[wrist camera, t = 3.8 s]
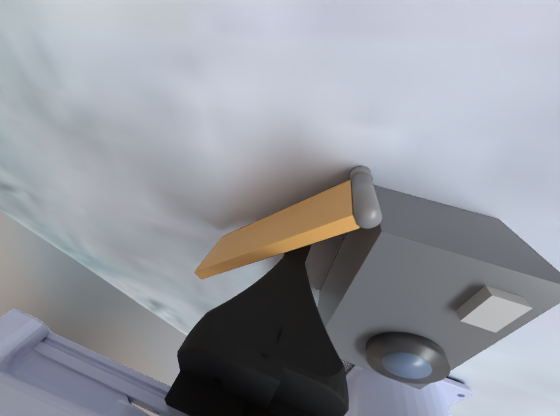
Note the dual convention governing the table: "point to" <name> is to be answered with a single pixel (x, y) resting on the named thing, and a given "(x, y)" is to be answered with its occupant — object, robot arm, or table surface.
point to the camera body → (430, 288)
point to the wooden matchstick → (297, 226)
